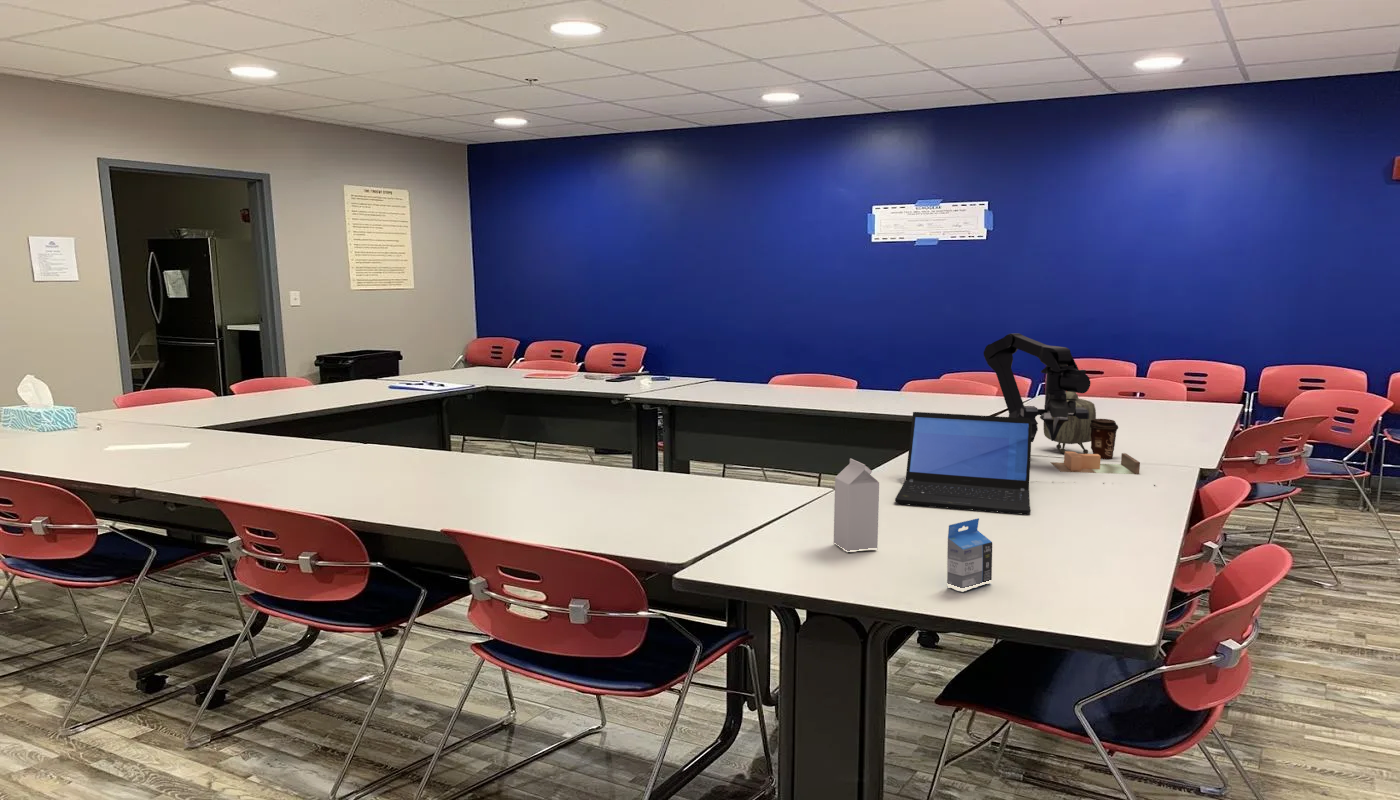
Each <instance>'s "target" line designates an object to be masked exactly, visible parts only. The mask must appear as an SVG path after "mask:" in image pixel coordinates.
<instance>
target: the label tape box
mask: <svg viewBox="0 0 1400 800" xmlns="http://www.w3.org/2000/svg"><path fill="white" fill-rule="evenodd" d="M979 521H980V518H978V517H977V518H974V519H969V520H965V521H960V522H957V523H953V524H949V525H948V531H947V553H946V554H947V556H946V557H947V561H946V562H947V563H946V564H947V566H946V568H947V571H946V572H947V573H946V578H947V580H946V581H947V582H946V583H948V584H951V585H954V586H957V587H960V588H965V587H969V586H973V585H976V584H980V583H982V582H986V581H989V580H992V578H993V577H992V576H993V572H992V571H993V541H992V540H990V539H989V538H987V537H986V535H984V534H983V533H982V532H980V531H979V530H978V528H979ZM963 527H965V528H967V529H964V530H960V529H962V528H963ZM959 530H960V531H959ZM992 581H993V580H992Z"/></svg>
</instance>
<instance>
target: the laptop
mask: <svg viewBox="0 0 1400 800" xmlns="http://www.w3.org/2000/svg"><path fill="white" fill-rule="evenodd" d="M1031 435H1032V422H1031V421H1030V420H1029V418H1015V417H1009V416H998V415H997V416H996V415H978V414H977V415H974V414H960V413H944V412H943V413H942V412H941V413H939V412H922V411H913V412H912V418H911V427H910V436H909V443H908V444H909V446H908V455H907V465H906V472H905V473H906V474H905V480H904V482H903V484H902V486H901V488H900V489H899V491H898V493H897V495H896V496H895V498H894V501H895V503H897V504H898V505H902V504H910V505H909V506H917V505H922V506H921V507H929V506H936V507H935V508H940V507H948V508H947V509H951V508H960V509H959V510H964V509H973V510H972V511H976V510H986V511H985V512H987V511H998V512H997V513H1000V512H1010V513H1009V514H1012V513H1022V514H1021V515H1024V514H1026V515H1029V514H1030V513H1031V511H1032V509H1031V505H1030V504H1031V503H1030V490H1029V489H1030V474H1031V473H1030V472H1031V455H1032V442H1031Z"/></svg>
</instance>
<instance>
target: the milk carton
mask: <svg viewBox="0 0 1400 800" xmlns="http://www.w3.org/2000/svg"><path fill="white" fill-rule="evenodd" d="M872 473H873V471H872V470H871V469H870V467H868V466H866V464H864V463H862V462H860V461H857V460H855V459H853V458H849V464H848V465H847V466H845V467H844V468H843V469H842V470H841V471H840V472H838V474H837V475H836V476H835V477H834V505H833V507H834V508H833V509H834V511H833V513H834V514H833V515H834V516H833V544H834V543H836V544H837V545H839V546H840V547H842V548H844V549H845V550H847V551H850V550H859V549H868V548H877V549H878V541H879V540H878V539H879V538H878V535H879V510H880V509H879V505H880V504H879V502H880V482H879V481H878V480H877V479H876V478H875V477H874V476H873V475H871V474H872Z"/></svg>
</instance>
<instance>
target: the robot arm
mask: <svg viewBox="0 0 1400 800" xmlns="http://www.w3.org/2000/svg"><path fill="white" fill-rule="evenodd" d="M1018 350H1019V351H1021V352H1024V353H1027V354H1029V355H1031V356H1034V357H1037V358H1038V359H1039V360H1040V362H1041V363H1043V364H1044V365H1045V367H1044V368H1042V369H1041V370H1040V373H1041V374H1045V375H1046V378H1045V393H1044V408H1038V407H1036V405H1025V404H1024V402H1023V398H1022V396H1021V393H1020V389H1019V387H1018V383H1017V382H1016V378H1015V376H1014V372H1013V370H1012V365H1013V361H1014V356H1013V355H1014V354H1015V353H1017V352H1018ZM983 357H984V359H985V362H986V364H987V365H988V366H989V367H990V368H991V370H992V371H993V372H995V374H996V377H997V380H998V384H999V386H1000V389H1001V392H1002V393H1001V394H1002V395H1003V396H1002V397H1003V399H1004V402H1005V404H1006V408H1007V411H1008V417H1015V418H1029V420H1030V421H1031V422H1032V435H1031V443H1034V440H1035V438H1036V435H1037V432H1038V431H1039V430H1038V429H1039V428H1038V424H1039V423H1038V421H1037V420H1036V417H1037V416H1039V419H1041V421H1043V423H1044V422H1045V424H1046V426H1047V429H1048V432H1049V435H1050V438H1051V440H1050V441H1052V442H1055V439H1056V436H1057V434H1058V432H1059V430H1060V428H1061V426H1062V424H1063V423H1064V422H1065V421H1068V419H1067V417H1068V416H1076V417H1077V418H1078V419H1089V411H1088V410H1087V409H1085V408H1084V407H1076V402H1075V401H1067V400H1066V392H1067V391H1069V392H1075V393H1076V394H1086V393H1087V392H1088V391H1089V389H1090V387H1091V380H1090V377H1089V376H1088V374H1087V373H1086V372H1087V371H1086V370H1085V369H1079V367H1078V365H1077V363H1076V360H1075V359H1074V358H1073V355H1072V352H1071V349H1070V348H1068V347H1066V346H1058V345H1057V346H1056V345H1049V344H1045V343H1043V342H1041V341H1038V340H1035V339H1033V338H1030V337H1027V336H1025V335H1023V334H1022V333H1007V334H1006V335H1005V336H1004V337H1002V338H1000V339H998V340H996V341H993V342H991V343H989V344H987V345H986V346H985V348H984V350H983ZM1052 417H1054V419H1052ZM1053 421H1054V426H1053Z"/></svg>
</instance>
